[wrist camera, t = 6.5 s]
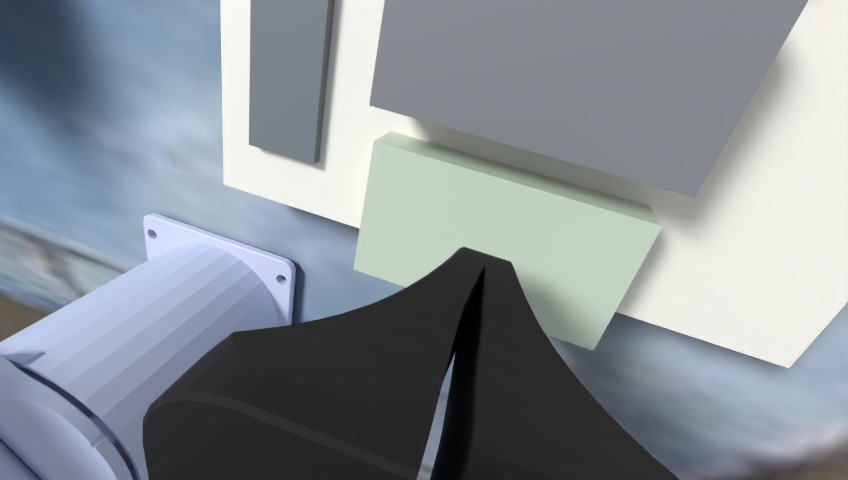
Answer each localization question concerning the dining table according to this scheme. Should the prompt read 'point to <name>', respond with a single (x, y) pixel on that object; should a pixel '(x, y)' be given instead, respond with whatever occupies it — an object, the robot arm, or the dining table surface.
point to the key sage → (503, 230)
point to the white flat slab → (578, 168)
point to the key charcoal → (585, 76)
